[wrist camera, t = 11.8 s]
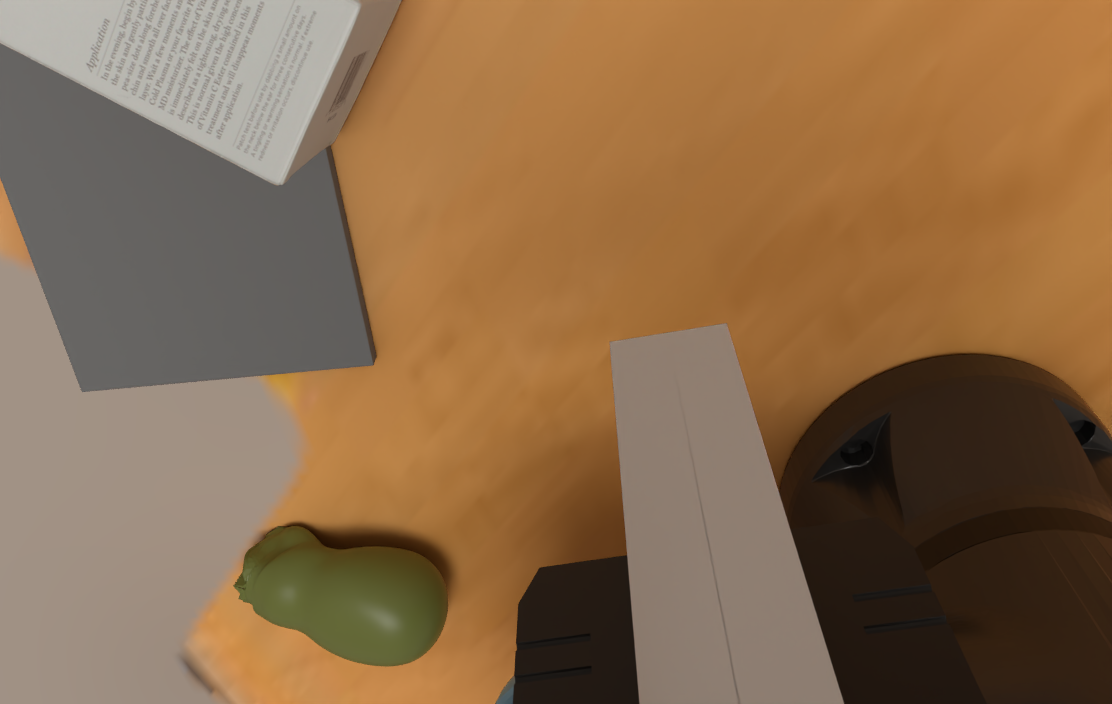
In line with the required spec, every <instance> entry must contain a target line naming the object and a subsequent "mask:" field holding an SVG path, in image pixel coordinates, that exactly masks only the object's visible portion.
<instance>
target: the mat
mask: <svg viewBox="0 0 1112 704" xmlns="http://www.w3.org/2000/svg"><path fill="white" fill-rule="evenodd" d="M0 178H1V181H2V183H3V186H4V189H5V191H6V194H7V196H8V199H9V202H10V204H11V207H12V210H13V212H14V215H15V217H16V220H17V223H18V225H19V228H20V231H21V233H22V236H23V238H24V241H25V244H26V246H27V249H28V252H29V254H30V257H31V259H32V262H33V265H34V267H35V270H36V273H37V275H38V278H39V280H40V283H41V286H42V288H43V291H44V293H45V296H46V299H47V301H48V304H49V306H50V309H51V312H52V314H53V317H54V320H55V322H56V325H57V327H58V330H59V333H60V335H61V338H62V340H63V343H64V346H65V349H66V351H67V354H68V356H69V359H70V362H71V364H72V367H73V369H74V372H75V375H76V377H77V380H78V383H79V385H80V388H81V390H82V392H86V391H98V390H109V389H120V388H131V387H141V386H153V385H164V384H175V383H186V382H197V381H208V380H219V379H229V378H240V377H251V376H262V375H273V374H284V373H295V372H306V371H317V370H328V369H339V368H349V367H360V366H371V365H374V362H375V359H376V352H375V348H374V343H373V338H372V334H371V329H370V325H369V320H368V315H367V311H366V306H365V302H364V297H363V293H362V288H361V283H360V279H359V274H358V270H357V265H356V260H355V256H354V251H353V247H352V242H351V238H350V233H349V228H348V224H347V219H346V215H345V210H344V205H343V201H342V196H341V192H340V187H339V182H338V178H337V173H336V169H335V164H334V160H333V155H332V150H331V146H330V145H329V146H328V147H326V148H325V149H323V150H322V151H321V152H319V153H318V154H317V155H316V156H314V157H313V158H312V159H310V160H309V161H308V162H307V163H306V164H305V165H303V166H302V167H301V168H300V169H299V170H297V171H296V172H295V173H294V174H293V175H292V176H291V177H290V178H289V179H288V181H287V182H286V183H284V184H283V185H274V184H272V183H270V182H268V181H266V180H264V179H262V178H260V177H258V176H256V175H254V174H253V173H251V172H249V171H247V170H245V169H243V168H241V167H239V166H237V165H235V164H233V163H231V162H229V161H228V160H226V159H224V158H222V157H220V156H218V155H216V154H214V153H212V152H210V151H208V150H206V149H204V148H202V147H200V146H198V145H197V144H195V143H193V142H191V141H189V140H187V139H185V138H183V137H181V136H179V135H177V134H175V133H174V132H172V131H170V130H168V129H166V128H164V127H162V126H160V125H158V124H156V123H154V122H152V121H150V120H148V119H146V118H144V117H143V116H141V115H139V114H137V113H135V112H133V111H131V110H129V109H127V108H125V107H123V106H121V105H119V104H117V103H115V102H113V101H112V100H110V99H108V98H106V97H104V96H102V95H100V94H98V93H96V92H94V91H92V90H90V89H88V88H86V87H84V86H82V85H80V84H79V83H77V82H75V81H73V80H71V79H69V78H67V77H65V76H63V75H61V74H59V73H57V72H55V71H53V70H51V69H49V68H47V67H45V66H44V65H42V64H40V63H38V62H36V61H34V60H32V59H30V58H28V57H26V56H24V55H22V54H20V53H18V52H16V51H14V50H12V49H10V48H9V47H7V46H5V45H3V44H1V43H0Z"/></svg>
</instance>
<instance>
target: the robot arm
mask: <svg viewBox="0 0 1112 704" xmlns="http://www.w3.org/2000/svg"><path fill="white" fill-rule="evenodd" d="M610 353H611V365H612V377H613V389H614V401H615V413H616V425H617V437H618V449H619V462H620V474H621V486H622V498H623V510H624V522H625V534H626V546H627V555H626V556H619V557H612V558H605V559H597V560H590V561H583V562H576V563H569V564H562V565H555V566H548V567H541V568H539V570H538V571H537V573H536V575H535V577H534V578H533V580H532V582H531V583H530V585H529V587H528V588H527V590H526V592H525V594H524V595H523V597H522V599H521V600H520V602H519V604H518V621H517V638H516V644H517V651H516V656H515V673H514V676H513V677H512V678H511V679H510V681H509V682H508V683H507V685H506V686H505V687H504V689H503V690H502V692H501V694H500V696H499V698H498V699H497V701H496V703H495V704H1112V436H1111V434H1110V433H1109V431H1108V430H1107V428H1106V427H1105V426H1104V424H1103V423H1102V422H1101V421H1100V419H1099V418H1098V417H1097V416H1096V415H1095V413H1094V412H1093V411H1092V410H1091V409H1090V407H1089V406H1088V405H1087V404H1086V403H1085V401H1084V400H1083V399H1082V398H1081V397H1080V396H1079V395H1078V394H1077V393H1076V392H1075V391H1074V390H1073V389H1072V388H1071V387H1069V386H1068V385H1067V384H1066V383H1064V382H1063V381H1062V380H1060V379H1059V378H1057V377H1055V376H1054V375H1052V374H1050V373H1048V372H1046V371H1044V370H1042V369H1040V368H1038V367H1035V366H1033V365H1030V364H1027V363H1024V362H1021V361H1017V360H1013V359H1009V358H1004V357H997V356H989V355H952V356H943V357H936V358H931V359H926V360H922V361H918V362H914V363H910V364H907V365H904V366H901V367H898V368H895V369H893V370H890V371H888V372H885V373H883V374H881V375H879V376H877V377H874V378H873V379H871V380H869V381H867V382H865V383H863V384H862V385H860V386H858V387H857V388H855V389H853V390H852V391H850V392H849V393H848V394H846V395H845V396H843V397H842V398H841V399H839V400H838V401H837V402H836V403H834V404H833V405H832V406H831V407H830V408H829V409H827V410H826V411H825V412H824V413H823V414H822V415H821V416H820V417H819V418H818V419H817V420H816V421H815V422H814V424H813V425H812V426H811V427H810V428H809V430H808V431H807V432H806V433H805V435H804V436H803V438H802V439H801V440H800V442H799V444H798V445H797V447H796V449H795V450H794V452H793V454H792V456H791V458H790V460H789V462H788V465H787V467H786V470H785V473H784V476H783V479H782V483H781V488H780V494H779V491H778V488H777V485H776V482H775V478H774V475H773V472H772V469H771V465H770V462H769V459H768V456H767V452H766V449H765V446H764V443H763V440H762V436H761V433H760V430H759V427H758V423H757V420H756V417H755V414H754V410H753V407H752V404H751V401H750V397H749V394H748V391H747V388H746V384H745V381H744V378H743V375H742V371H741V368H740V365H739V362H738V359H737V355H736V352H735V349H734V346H733V342H732V339H731V336H730V333H729V329H728V326H727V323H725V324H719V325H713V326H706V327H700V328H694V329H688V330H681V331H675V332H669V333H663V334H656V335H650V336H644V337H638V338H631V339H625V340H619V341H613V342H610Z"/></svg>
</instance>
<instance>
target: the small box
mask: <svg viewBox="0 0 1112 704" xmlns="http://www.w3.org/2000/svg"><path fill="white" fill-rule="evenodd" d="M401 1H402V0H0V43H1V44H3V45H5V46H7V47H9V48H10V49H12V50H14V51H16V52H18V53H20V54H22V55H24V56H26V57H28V58H30V59H32V60H34V61H36V62H38V63H40V64H42V65H44V66H45V67H47V68H49V69H51V70H53V71H55V72H57V73H59V74H61V75H63V76H65V77H67V78H69V79H71V80H73V81H75V82H77V83H79V84H80V85H82V86H84V87H86V88H88V89H90V90H92V91H94V92H96V93H98V94H100V95H102V96H104V97H106V98H108V99H110V100H112V101H113V102H115V103H117V104H119V105H121V106H123V107H125V108H127V109H129V110H131V111H133V112H135V113H137V114H139V115H141V116H143V117H144V118H146V119H148V120H150V121H152V122H154V123H156V124H158V125H160V126H162V127H164V128H166V129H168V130H170V131H172V132H174V133H175V134H177V135H179V136H181V137H183V138H185V139H187V140H189V141H191V142H193V143H195V144H197V145H198V146H200V147H202V148H204V149H206V150H208V151H210V152H212V153H214V154H216V155H218V156H220V157H222V158H224V159H226V160H228V161H229V162H231V163H233V164H235V165H237V166H239V167H241V168H243V169H245V170H247V171H249V172H251V173H253V174H254V175H256V176H258V177H260V178H262V179H264V180H266V181H268V182H270V183H272V184H274V185H283V184H284V183H286V182H287V181H288V179H289V178H290V177H291V176H292V175H293V174H294V173H295V172H296V171H297V170H299V169H300V168H301V167H302V166H303V165H305V164H306V163H307V162H308V161H309V160H310V159H312V158H313V157H314V156H316V155H317V154H318V153H319V152H321V151H322V150H323V149H325V148H326V147H328V146H329V145H331V144H333V143H334V141H335V140H336V138H337V136H338V134H339V132H340V130H341V128H342V126H343V124H344V122H345V120H346V118H347V116H348V114H349V112H350V110H351V108H352V106H353V104H354V102H355V101H356V99H357V97H358V94H359V92H360V90H361V88H362V86H363V84H364V81H365V79H366V77H367V75H368V73H369V71H370V69H371V66H372V64H373V62H374V60H375V58H376V56H377V54H378V51H379V49H380V47H381V45H382V43H383V41H384V39H385V36H386V34H387V32H388V30H389V28H390V25H391V23H392V21H393V19H394V17H395V14H396V12H397V10H398V8H399V5H400V3H401Z"/></svg>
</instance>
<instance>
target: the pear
mask: <svg viewBox="0 0 1112 704" xmlns="http://www.w3.org/2000/svg"><path fill="white" fill-rule="evenodd" d="M240 576H241V577H240ZM240 576H239V579H237V582H236V583H235V585H233V586H234V587H235V588H236V589H237V590H238V592H239V593H240V596H239V599H241V600H243V602H247V603H250V604H252V605H253V609H254V611H255V613H257V614H258V615H259V616H261V617H263V618H264V619H266V620H267V621H269V622H271V623H273V624H275V625H278V626H281V627H285V628H290V629H294V630H298V631H300V632H302V633H304V634H306V635H307V636H308V637H309V638H311V639H312V640H313V641H314V642H316V643H317V644H318V645H320V646H321V647H322V648H324V649H326V650H327V651H329V652H331V653H333V654H335V655H337V656H339V657H342V658H344V659H347V660H350V661H353V662H357V663H362V664H367V665H373V666H399V665H403V664H407V663H410V662H412V661H414V660H416V659H418V658H420V657H421V656H423V655H424V654H425V653H426V652H427V651H428V650H429V649H430V648H431V647H432V646H433V645H434V644H435V642H436V641H437V639H438V638H439V636H440V634H441V632H442V630H443V627H444V624H445V621H446V617H447V612H448V594H447V588H446V585H445V582H444V579H443V577H442V575H441V574H440V572H439V571H438V569H437V568H436V567H435V566H434V565H433V564H432V563H431V562H430V561H429V560H428V559H426V558H425V557H423V556H421V555H420V554H418V553H415V552H413V551H410V550H406V549H401V548H394V547H383V546H368V547H357V548H350V549H334V548H329V547H325V546H324V545H322V544H321V542H320V541H319V540H318V539H317V538H316V537H315V536H314V535H313V534H312V533H311V532H310V531H309V530H307V529H305V528H303V527H300V526H290V527H281V526H278V527H277V528H275V529H274V530H272V531H271V532H270V533H268V534H266V537H265V539H263V540H262V541H260V542H259V543H258V544H256V545H255V546H253V547H252V548H251V549H249V550H248V551H247V553H246V554H245V558H244V565H243V572H242V573H241V575H240Z"/></svg>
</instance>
